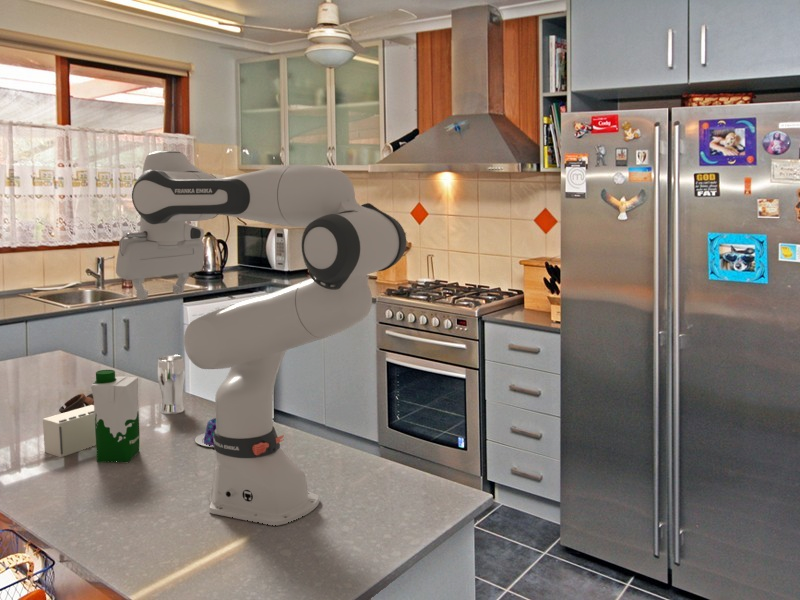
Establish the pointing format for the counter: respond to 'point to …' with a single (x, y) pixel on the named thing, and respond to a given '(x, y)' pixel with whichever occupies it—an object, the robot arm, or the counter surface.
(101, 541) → the counter surface
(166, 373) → the beer glass
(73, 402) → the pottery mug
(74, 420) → the block
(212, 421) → the pudding
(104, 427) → the soya milk
